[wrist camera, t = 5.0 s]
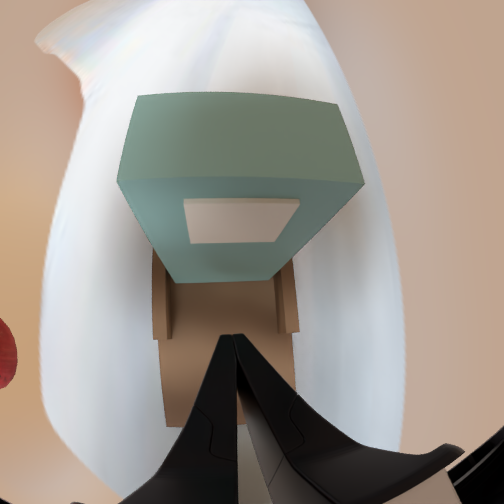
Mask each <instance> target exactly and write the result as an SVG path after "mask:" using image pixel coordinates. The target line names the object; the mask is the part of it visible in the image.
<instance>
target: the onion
mask: <svg viewBox="0 0 504 504" xmlns="http://www.w3.org/2000/svg"><path fill="white" fill-rule="evenodd" d="M16 367H17V349H16V344H15V340H14V337H13V335H12V333H11V331H10V329H9V327H8V326H7V325H6V324H5V323H4V322H3V321H2V319H1V318H0V389H1V388H4V387H6V386H7V385H8V384H9V382H10V381H11V380H12V379H13V377H14V375H15V372H16Z"/></svg>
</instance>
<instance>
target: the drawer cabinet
mask: <svg viewBox="0 0 504 504" xmlns="http://www.w3.org/2000/svg"><path fill="white" fill-rule="evenodd" d="M152 322H153V340H158V346H159V361H160V373H161V384H162V394H163V402H164V410H165V418H166V425H167V427H184V425H185V423H186V421H187V418H188V416H189V414H190V411H191V408H192V406H193V404H194V401H195V398H196V396H197V393H198V391H199V388H200V385H201V383H202V380H203V378H204V375H205V372H206V370H207V367H208V365H209V362H210V360H211V357H212V354H213V352H214V349H215V347H216V344H217V341H218V339H219V336H220V335H222V334H231V335H233V334H238V333H243V334H244V335H245V336H246V337H247V338H248V339H249V340H250V341H251V343H252V344H253V345H254V346H255V347H256V348H257V349H258V351H259V352H260V353H261V354H262V355H263V356H264V357H265V358H266V360H267V361H268V362H269V363H270V364H271V365H272V366H273V367H274V369H275V370H276V371H277V372H278V373H279V374H280V375H281V376H282V377H283V378H284V379H285V381H286V382H287V383H288V384H289V385H290V386H291V387H292V388H293V389H294V390H295V391H296V388H295V373H294V359H293V346H292V334H291V333H294V332H300V331H299V320H298V309H297V299H296V289H295V280H294V270H293V262H292V258H291V259H290V260H289V261H288V262H287V263H286V264H285V265H284V266H283V267H282V268H281V269H280V270H279V271H278V272H277V273H276V274H275V275H273V276H272V277H271V278H270V279H269V280H262V281H238V282H209V283H175V282H174V280H173V279H172V277H171V275H170V274H169V272H168V271H167V269H166V267H165V266H164V264H163V263H162V261H161V259H160V258H159V256H158V254H157V253H156V251H155V249H154V248H153V255H152ZM241 424H246V420H245V417H244V414H243V410H242V407H241V403H240V400H239V396H238V393H237V425H241Z"/></svg>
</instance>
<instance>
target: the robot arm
mask: <svg viewBox="0 0 504 504" xmlns="http://www.w3.org/2000/svg"><path fill="white" fill-rule="evenodd" d="M237 393H238V396H239V400H240V403H241V407H242V410H243V414H244V417H245V420H246V424H247V427H248V430H249V433H250V437H251V440H252V443H253V446H254V449H255V452H256V455H257V459H258V462H259V465H260V468H261V471H262V473H263V476H264V479H265V482H266V485H267V487H268V491H269V494H270V496H271V499H272V502H273V504H504V426H503V427H502V428H501V429H499V430H498V431H497V432H496V433H495V434H494V435H493V436H492V437H490V438H489V439H488V440H487V441H486V442H485V443H483V444H482V445H481V446H480V447H478V448H477V449H476V450H475V451H474V452H472V453H471V454H470V455H468V456H467V457H466V458H464V459H463V460H462V461H461V462H459V463H458V464H457V465H455V466H454V467H453V468H451V469H450V470H449V471H446V470H445V467H446V466H447V465H449V464H450V463H452V462H453V461H454V460H456V459H457V458H458V457H460V456H461V455H462V454H463V453H464V452H465V451H464V450H463V449H461V448H459V447H458V446H455V445H451V444H447V443H445V444H443V445H441V446H439V447H438V448H436V449H435V450H433V451H431V452H429V453H426V454H421V455H413V454H404V453H399V452H393V451H387V450H382V449H377V448H372V447H368V446H365V445H362V444H360V443H358V442H356V441H354V440H353V439H351V438H350V437H348V436H347V435H346V434H344V433H343V432H341V431H340V430H339V429H337V428H336V427H335V426H333V425H332V424H331V423H329V422H328V421H327V420H326V419H324V418H323V417H322V416H321V415H319V414H318V413H317V412H316V411H315V410H314V409H313V408H312V407H310V406H309V405H308V404H307V403H306V402H305V401H304V400H303V399H302V397H301V396H300V395H297V392H296V391H295V390H294V389H293V388H292V387H291V386H290V385H289V384H288V383H287V382H286V381H285V379H284V378H283V377H282V376H281V375H280V374H279V373H278V372H277V371H276V370H275V369H274V367H273V366H272V365H271V364H270V363H269V362H268V361H267V360H266V358H265V357H264V356H263V355H262V354H261V353H260V352H259V351H258V349H257V348H256V347H255V346H254V345H253V344H252V343H251V341H250V340H249V339H248V338H247V337H246V336H245V335H244V334H243V333H238V334H233V335H231V334H222V335H220V336H219V339H218V341H217V344H216V347H215V349H214V352H213V354H212V357H211V360H210V362H209V365H208V367H207V370H206V372H205V375H204V378H203V380H202V383H201V385H200V388H199V391H198V393H197V396H196V398H195V401H194V404H193V406H192V408H191V411H190V414H189V416H188V418H187V421H186V423H185V425H184V427H183V429H182V431H181V433H180V435H179V437H178V438H177V440H176V442H175V443H174V445H173V447H172V449H171V450H170V452H169V454H168V455H167V457H166V459H165V460H164V462H163V463H162V465H161V467H160V468H159V469H158V471H157V472H156V473H155V474H154V476H153V477H152V478H151V479H149V480H148V481H147V482H146V483H145V484H143V485H142V486H141V487H140V488H138V489H137V490H136V491H134V492H133V493H132V494H131V495H129V496H128V497H127V498H125V499H124V500H123V501H121V502H120V503H118V504H239V502H238V464H237ZM0 504H12V503H10V502H8V501H6V500H4V499H2V498H0ZM71 504H83V503H79V502H72V503H71Z"/></svg>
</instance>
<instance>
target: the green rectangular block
mask: <svg viewBox="0 0 504 504" xmlns="http://www.w3.org/2000/svg"><path fill="white" fill-rule="evenodd" d="M117 183H118V185H119V187H120V189H121V191H122V193H123V195H124V197H125V198H126V200H127V202H128V204H129V206H130V208H131V209H132V211H133V213H134V215H135V217H136V218H137V220H138V222H139V224H140V226H141V227H142V229H143V231H144V233H145V234H146V236H147V238H148V239H149V241H150V243H151V244H152V246H153V248H154V249H155V251H156V253H157V254H158V256H159V258H160V259H161V261H162V263H163V264H164V266H165V267H166V269H167V271H168V272H169V274H170V275H171V277H172V279H173V280H174V282H175V283H209V282H238V281H262V280H269V279H270V278H271V277H272V276H273V275H275V274H276V273H277V272H278V271H279V270H280V269H281V268H282V267H283V266H284V265H285V264H286V263H287V262H288V261H289V260H290V259H291V258H292V257H293V256H294V255H295V254H296V253H297V252H298V251H299V250H300V249H301V248H302V247H303V246H304V245H305V244H306V243H307V242H308V241H309V240H310V239H311V238H312V237H313V236H314V235H315V234H316V233H317V232H318V231H319V230H320V229H321V228H322V227H323V226H324V225H325V224H326V223H327V222H328V221H329V220H330V219H331V218H332V217H333V216H334V215H335V214H336V213H337V212H338V211H339V210H340V209H341V208H342V207H343V206H344V205H345V204H346V203H347V202H348V201H349V200H350V199H351V198H352V197H353V196H354V195H355V194H356V193H357V192H358V191H359V189H360V188H361V187H362V186H363V185H364V184H365V183H364V180H363V176H362V173H361V170H360V166H359V163H358V160H357V157H356V154H355V151H354V148H353V145H352V142H351V139H350V136H349V134H348V131H347V128H346V125H345V123H344V120H343V118H342V115H341V112H340V110H339V107H338V105H337V104H332V103H327V102H321V101H315V100H309V99H302V98H294V97H286V96H277V95H267V94H254V93H236V92H182V93H164V94H151V95H141V96H138V97H137V100H136V103H135V107H134V110H133V113H132V117H131V120H130V124H129V128H128V131H127V135H126V139H125V143H124V148H123V152H122V156H121V161H120V166H119V170H118V175H117Z"/></svg>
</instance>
